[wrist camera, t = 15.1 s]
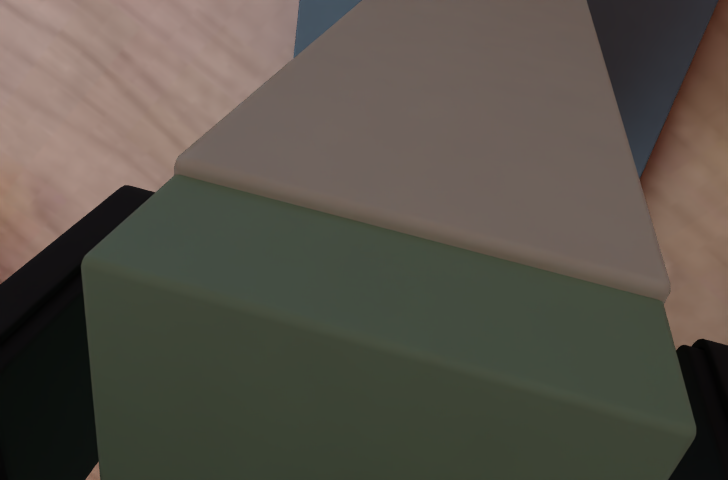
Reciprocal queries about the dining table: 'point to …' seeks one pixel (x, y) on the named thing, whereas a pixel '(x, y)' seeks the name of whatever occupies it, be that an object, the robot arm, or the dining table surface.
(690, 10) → the mat
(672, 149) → the dining table surface
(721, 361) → the robot arm
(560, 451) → the green book
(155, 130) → the dining table surface
